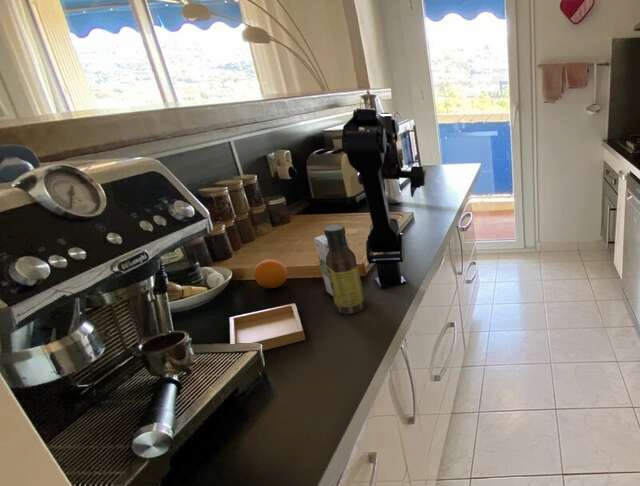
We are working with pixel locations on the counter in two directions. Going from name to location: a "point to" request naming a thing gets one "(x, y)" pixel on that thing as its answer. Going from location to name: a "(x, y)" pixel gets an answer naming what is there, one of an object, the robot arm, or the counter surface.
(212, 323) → the counter surface
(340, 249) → the sauce bottle
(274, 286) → the orange
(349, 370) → the counter surface
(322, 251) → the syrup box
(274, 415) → the counter surface
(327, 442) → the counter surface
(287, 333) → the tray
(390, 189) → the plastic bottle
